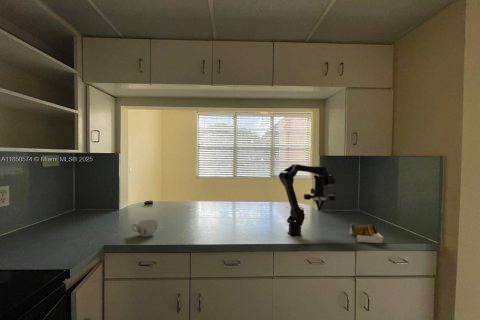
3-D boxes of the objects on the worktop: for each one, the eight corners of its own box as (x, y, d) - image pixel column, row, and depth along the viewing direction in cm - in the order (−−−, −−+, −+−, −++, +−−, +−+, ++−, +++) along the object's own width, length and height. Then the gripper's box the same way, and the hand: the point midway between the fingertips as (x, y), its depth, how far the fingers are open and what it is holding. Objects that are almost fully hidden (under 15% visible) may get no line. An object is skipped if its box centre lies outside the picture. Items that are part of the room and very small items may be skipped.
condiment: (354, 239, 146) (377, 236, 139) (349, 224, 148) (371, 220, 141) (357, 237, 152) (379, 233, 145) (352, 222, 154) (373, 218, 147)
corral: (357, 241, 144) (357, 235, 144) (349, 233, 158) (350, 228, 158) (382, 243, 142) (383, 236, 142) (373, 235, 156) (373, 229, 156)
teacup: (160, 232, 156) (160, 219, 155) (155, 239, 143) (155, 225, 143) (135, 232, 155) (135, 219, 154) (127, 239, 142) (127, 225, 142)
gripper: (331, 184, 168) (331, 208, 168) (302, 184, 170) (302, 207, 171) (336, 187, 157) (335, 212, 157) (304, 186, 159) (304, 211, 160)
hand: (318, 210), depth 162 cm, fingers closed
